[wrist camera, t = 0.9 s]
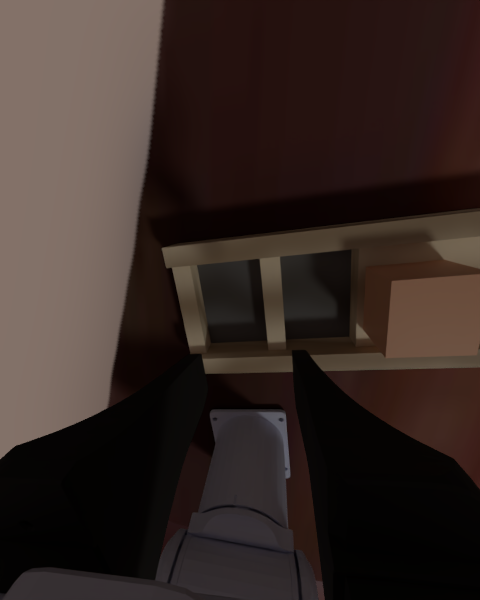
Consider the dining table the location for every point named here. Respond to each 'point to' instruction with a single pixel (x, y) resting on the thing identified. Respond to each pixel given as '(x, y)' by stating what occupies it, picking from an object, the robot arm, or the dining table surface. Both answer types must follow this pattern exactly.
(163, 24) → the dining table surface
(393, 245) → the trap lane
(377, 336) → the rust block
